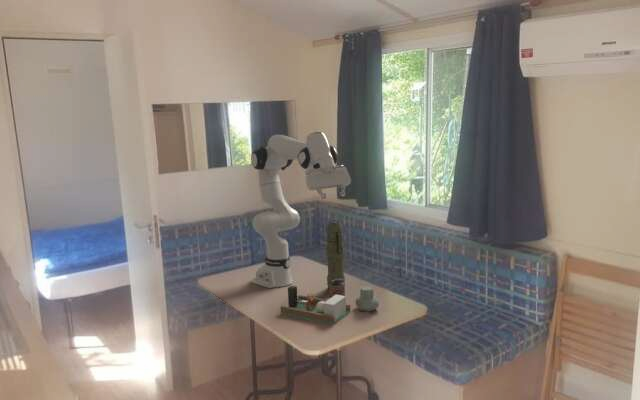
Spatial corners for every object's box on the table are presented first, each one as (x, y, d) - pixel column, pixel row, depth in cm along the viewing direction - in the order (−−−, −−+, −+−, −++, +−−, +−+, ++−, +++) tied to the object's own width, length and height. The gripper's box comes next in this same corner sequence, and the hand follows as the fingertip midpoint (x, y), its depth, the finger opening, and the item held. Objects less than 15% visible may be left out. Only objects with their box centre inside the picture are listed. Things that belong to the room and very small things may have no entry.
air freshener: (353, 306, 237) (353, 285, 235) (369, 303, 240) (369, 283, 238) (364, 315, 227) (363, 293, 225) (380, 311, 230) (380, 290, 228)
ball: (314, 313, 228) (313, 302, 227) (319, 309, 232) (319, 298, 232) (324, 315, 226) (323, 304, 225) (329, 311, 230) (329, 300, 229)
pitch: (280, 314, 231) (280, 297, 229) (299, 302, 244) (299, 286, 243) (333, 325, 217) (333, 307, 216) (350, 311, 231) (350, 294, 230)
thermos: (337, 284, 268) (335, 218, 261) (349, 290, 258) (348, 222, 251) (322, 287, 263) (320, 221, 257) (335, 294, 253) (333, 225, 247)
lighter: (330, 301, 244) (329, 281, 242) (328, 299, 247) (327, 279, 245) (346, 299, 246) (345, 279, 244) (344, 296, 249) (343, 277, 248)
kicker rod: (287, 307, 235) (286, 288, 234) (293, 303, 239) (292, 285, 238) (309, 311, 229) (308, 292, 228) (315, 307, 234) (314, 288, 232)
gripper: (341, 167, 227) (350, 196, 224) (301, 172, 217) (310, 202, 214) (348, 161, 222) (357, 191, 219) (307, 166, 212) (316, 197, 208)
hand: (333, 196), depth 216 cm, fingers open, 8 cm apart
